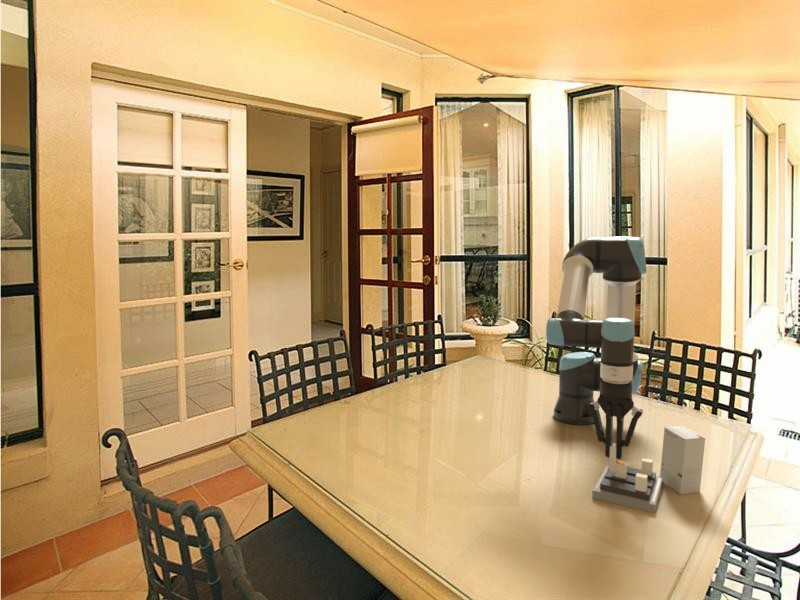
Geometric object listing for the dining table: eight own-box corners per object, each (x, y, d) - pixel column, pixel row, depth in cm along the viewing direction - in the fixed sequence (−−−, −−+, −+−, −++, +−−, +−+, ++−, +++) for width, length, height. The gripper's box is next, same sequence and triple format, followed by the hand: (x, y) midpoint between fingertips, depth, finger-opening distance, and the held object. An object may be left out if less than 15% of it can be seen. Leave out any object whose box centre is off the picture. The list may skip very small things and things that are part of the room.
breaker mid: (615, 476, 132) (615, 462, 132) (616, 473, 134) (617, 459, 133) (625, 478, 131) (626, 464, 130) (626, 475, 132) (627, 461, 132)
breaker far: (641, 473, 133) (641, 460, 133) (642, 470, 135) (642, 457, 135) (651, 475, 132) (651, 462, 132) (652, 472, 134) (652, 459, 133)
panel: (592, 498, 129) (592, 484, 128) (605, 472, 142) (606, 460, 142) (654, 513, 121) (655, 498, 121) (662, 485, 135) (663, 472, 134)
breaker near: (634, 490, 125) (635, 476, 125) (636, 486, 127) (636, 472, 126) (645, 492, 124) (646, 478, 123) (647, 488, 125) (647, 475, 125)
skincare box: (659, 480, 137) (661, 426, 136) (679, 478, 138) (681, 424, 137) (681, 495, 129) (684, 438, 127) (703, 493, 130) (706, 436, 128)
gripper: (585, 380, 131) (583, 469, 133) (642, 387, 124) (638, 481, 126) (592, 373, 137) (590, 458, 140) (646, 379, 130) (643, 469, 133)
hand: (613, 469), depth 133 cm, fingers closed
